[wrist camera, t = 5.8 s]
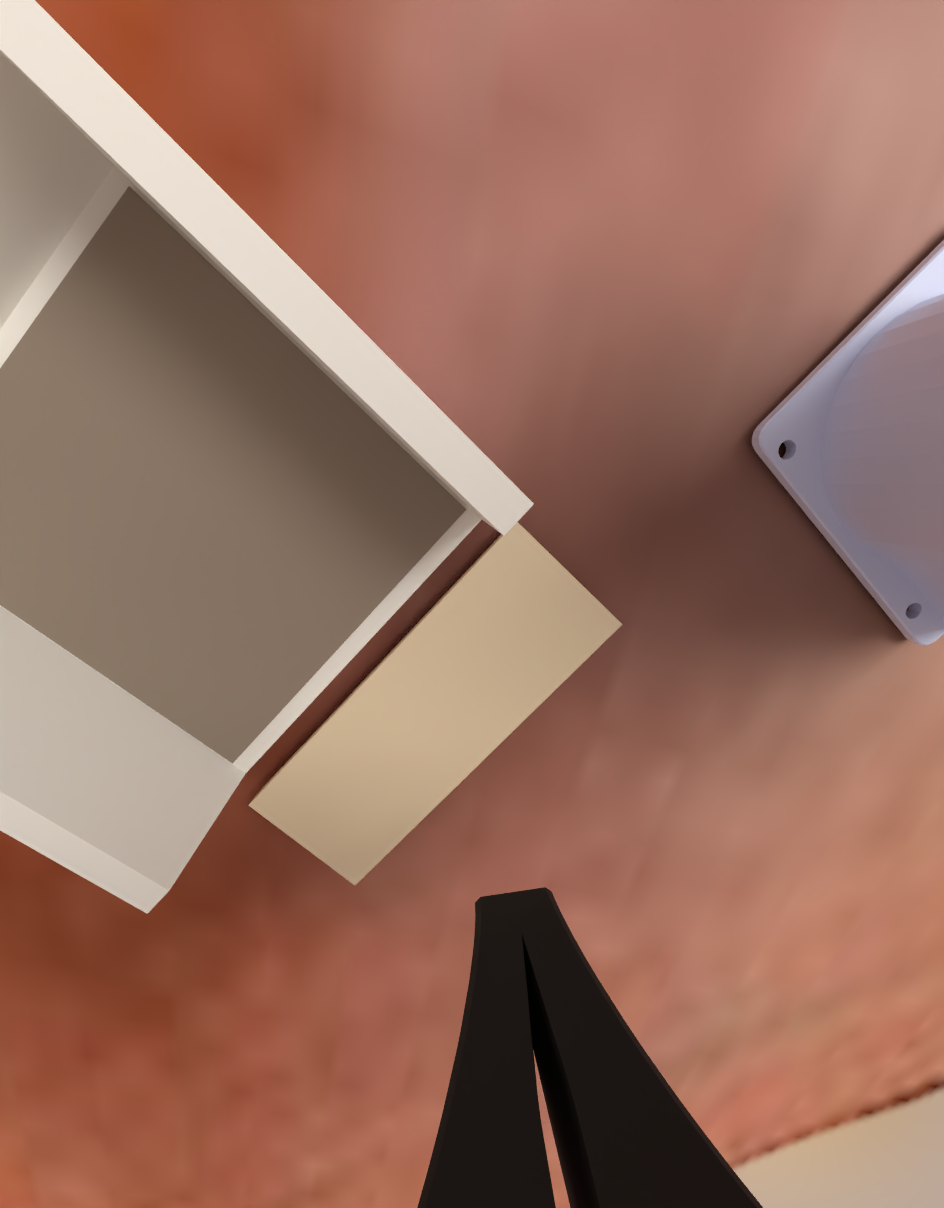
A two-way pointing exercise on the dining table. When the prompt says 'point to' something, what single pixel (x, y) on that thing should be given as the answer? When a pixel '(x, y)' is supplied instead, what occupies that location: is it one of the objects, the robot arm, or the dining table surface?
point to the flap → (436, 705)
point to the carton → (179, 479)
